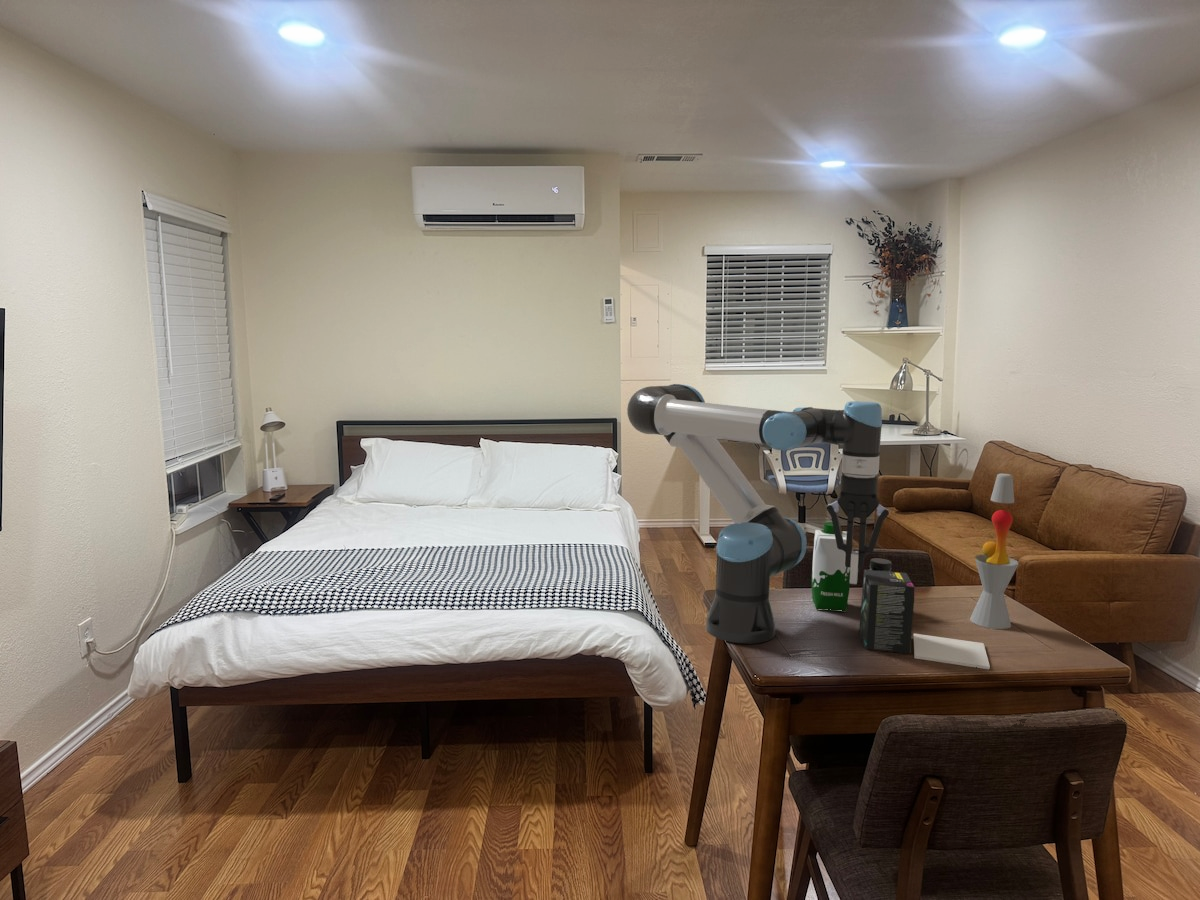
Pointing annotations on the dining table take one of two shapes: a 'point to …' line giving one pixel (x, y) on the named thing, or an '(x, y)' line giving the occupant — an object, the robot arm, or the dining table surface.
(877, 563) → the supplement bottle
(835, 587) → the milk carton
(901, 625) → the tampon box
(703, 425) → the robot arm
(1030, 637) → the dining table surface
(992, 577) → the lava lamp
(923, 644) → the mat
